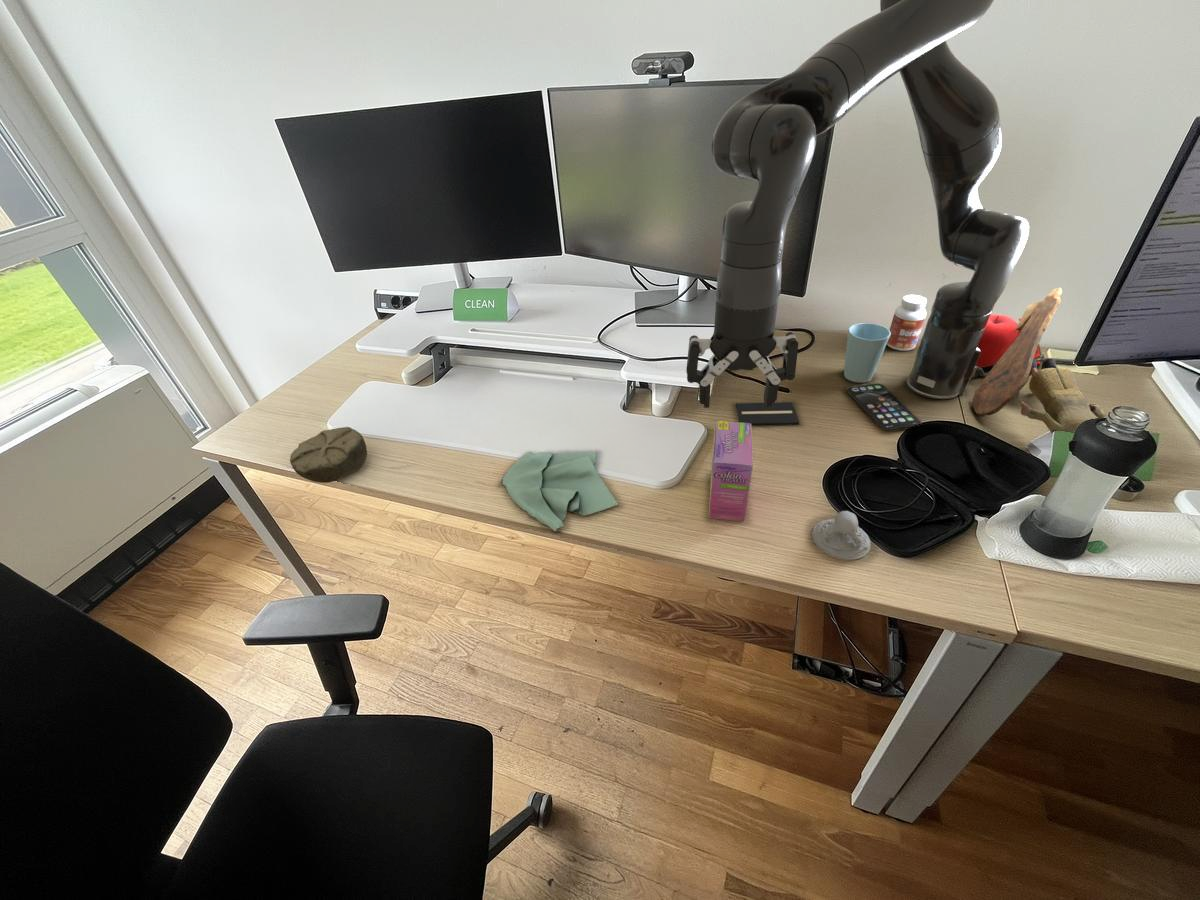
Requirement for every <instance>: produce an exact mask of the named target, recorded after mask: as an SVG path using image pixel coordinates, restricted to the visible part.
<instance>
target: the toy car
mask: <svg viewBox="0 0 1200 900" xmlns="http://www.w3.org/2000/svg"><path fill="white" fill-rule="evenodd" d="M1021 318H1022V317H1021ZM1021 318H1018V323H1019V322H1020V320H1021ZM1020 332H1021V331H1020ZM1020 332H1019V334H1020ZM1044 358H1045V356H1044V354H1042V352H1041V346H1040V343H1039V344H1038V347H1037V350H1036V352H1035V356H1034V359H1036V360H1037V363H1036V364H1037V366H1038V365H1042V363H1043V361H1042V360H1043V359H1044Z"/></svg>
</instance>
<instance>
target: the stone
mask: <svg viewBox="0 0 1200 900" xmlns="http://www.w3.org/2000/svg"><path fill="white" fill-rule="evenodd" d="M297 446H298V447H296V448H295V449H294V450H293V451H292V452H291V454H290V458H289V463H290V465H291V467H292V469H293V470H294V472H295V473H296V474H297V475H298V476H299V477H301V478H303V479H306V480H308V481H311V482H315V483H319V484H320V483H321V484H325V483H326V484H327V483H328V484H329V483H333V482H336V481H337V480H339V479H340V478H342V477H345V476H348V475H351V474H353V473H354V472H356V471H358V470H360V469H361V468H362V467H363V466H364V464H365V461H366V459H367V457H368V450H367V449H368V448H367V444H366V442H365V438H364V437H363V434H362V433H360V432H359V431H358V430H356V429H353V428H352V427H350V426H343V427H337V428H331V429H325V430H322V431H320V432H319V433H318V434H316V435H314V436H312V437H310V438H308V439H306V440H304V441H302V442H300V443H299V444H298V445H297Z"/></svg>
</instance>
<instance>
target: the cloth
mask: <svg viewBox="0 0 1200 900" xmlns="http://www.w3.org/2000/svg"><path fill="white" fill-rule="evenodd" d="M597 454H598V452H597V451H589V452H588V451H587V452H585V451H584V452H583V451H582V452H561V453H553V452H549V451H540V452H538V453H534V452H533V451H528V452H526V453H525V454H524V455H521V457H520V458H518V459H517V460H516V462H514V464H512V465H511V466H510V468H509V469H508V470H507V472H506V473H505V475H504V476H503V477H502V478H501V485H502V486H505V489H506V491H507V493H508V495H509V497H510V498H511V499H512V501H513V502H514V503H515V504H516V505H517V506H518V507H519V508H520V509H521V510H522V511H525V512H526V513H527V514H528V515H529V516H530V517H531V518H534V519H536V520H537V521H538V522H539V523H541V524H542V525H545V526H547V527H548V528H550V529H551V530H552V531H554V532H557V531H558V530H559V529H560V528H564V527H565V525H564V523H563V522H564V521H565V520H566V517H567V515H568V513H567V512H568V511H569V512H571V513H576V514H577V515H580V516H589V515H593V514H596V513H599V512H601V511H604V510H608V509H611V508H613V507H617V506H619V503H618V502H617V500H616V498H615V497H614V496H613V494H612V493H611V492H610V490H609V488H608V487H607V486H606V484H605V482H604V481H603V479H602V478H601V477H600V474H598V472H597V470H596V468H595V465H596V460H597Z"/></svg>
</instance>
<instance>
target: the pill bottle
mask: <svg viewBox="0 0 1200 900" xmlns="http://www.w3.org/2000/svg"><path fill="white" fill-rule="evenodd" d="M927 299H928V298H926V297H924V296H922V295H918V294H907V295H904V296H902V299H901V301H900V303H901V304H900V305H899V306H898V307H897V308H896V309H894V313H893V316H892V320H891V323H890V326H889V329H888V330H889V331H890V332H891V335H890V337H889V340H888V342H887V344H886V346H888V347H889V348H891V349H893V350H896V351H902V352H907V351H911V350H913V349H915V348H916V346H917V344H918V341H919V338H920V336H921V332H922V329H923V326H924V323H925V321H926V317H927V310H926V308H925V307H926V305H927V301H928V300H927Z"/></svg>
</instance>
